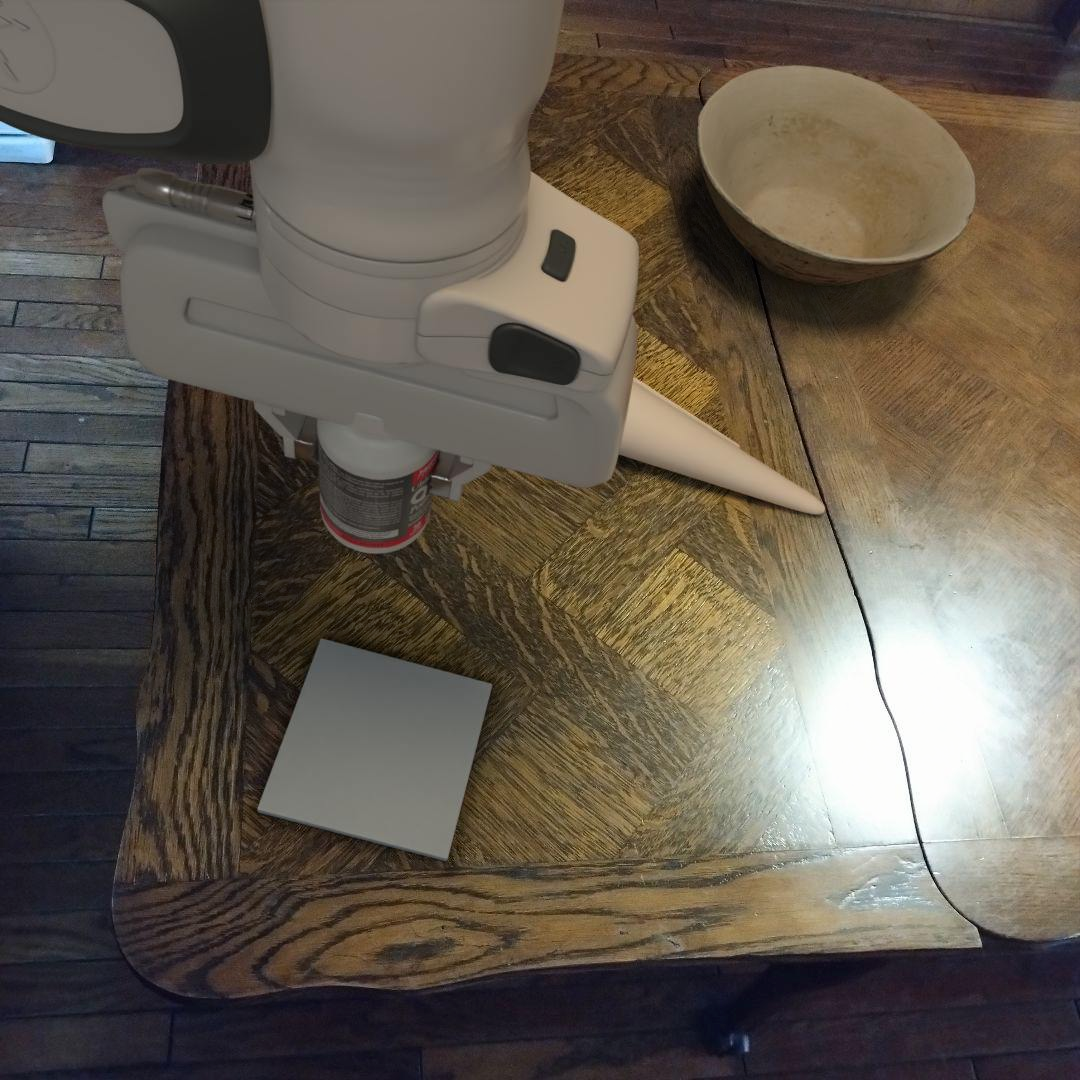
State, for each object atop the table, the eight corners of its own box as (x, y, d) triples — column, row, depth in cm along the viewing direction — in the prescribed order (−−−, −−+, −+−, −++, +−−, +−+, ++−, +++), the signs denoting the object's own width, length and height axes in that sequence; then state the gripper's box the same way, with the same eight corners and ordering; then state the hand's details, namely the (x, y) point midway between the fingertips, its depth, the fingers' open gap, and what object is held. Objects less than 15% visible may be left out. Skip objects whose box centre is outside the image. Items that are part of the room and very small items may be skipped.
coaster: (257, 812, 55) (256, 809, 55) (320, 641, 61) (320, 637, 61) (446, 861, 56) (447, 859, 55) (491, 687, 62) (492, 683, 61)
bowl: (693, 336, 81) (733, 242, 72) (649, 146, 93) (680, 46, 84) (952, 348, 85) (1018, 261, 77) (878, 165, 97) (929, 73, 89)
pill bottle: (432, 558, 48) (449, 435, 39) (318, 556, 47) (312, 430, 38) (429, 466, 50) (445, 334, 42) (321, 463, 49) (316, 327, 41)
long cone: (786, 584, 72) (555, 452, 72) (806, 525, 76) (587, 399, 76) (828, 542, 67) (582, 401, 67) (847, 482, 71) (614, 348, 71)
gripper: (48, 214, 32) (128, 464, 43) (659, 378, 32) (577, 580, 44) (130, 101, 35) (184, 360, 47) (681, 252, 36) (599, 470, 48)
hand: (378, 468), depth 45 cm, fingers closed on pill bottle, 5 cm apart
